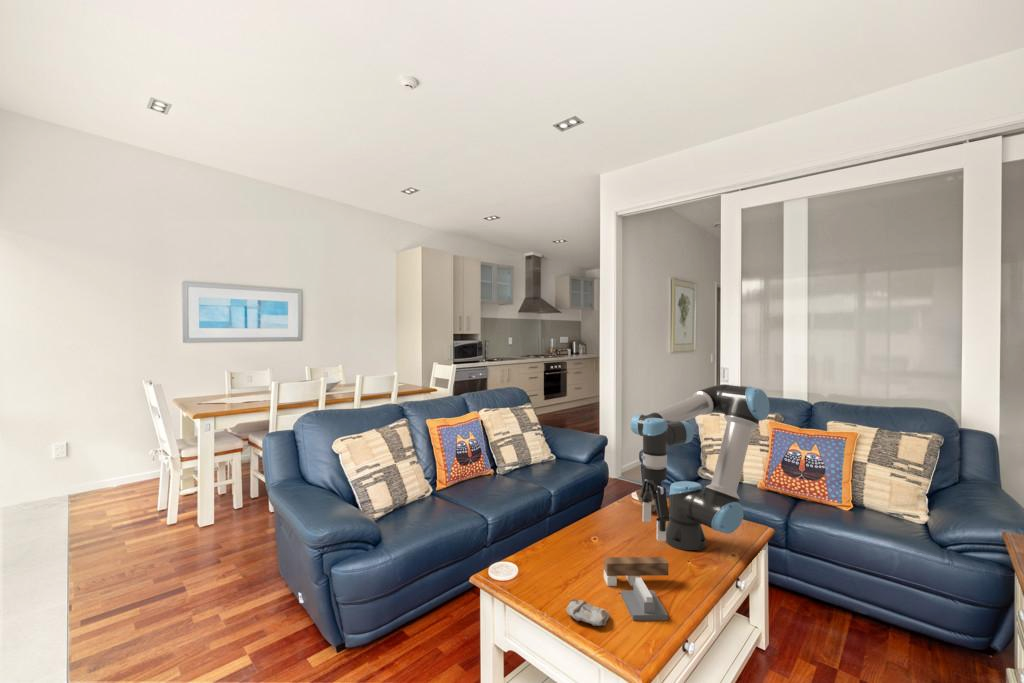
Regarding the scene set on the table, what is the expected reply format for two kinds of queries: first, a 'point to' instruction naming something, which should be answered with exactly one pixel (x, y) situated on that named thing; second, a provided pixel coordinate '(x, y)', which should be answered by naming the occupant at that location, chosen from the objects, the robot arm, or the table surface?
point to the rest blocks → (613, 579)
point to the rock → (642, 501)
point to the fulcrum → (643, 603)
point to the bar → (636, 566)
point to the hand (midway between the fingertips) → (653, 530)
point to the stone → (587, 613)
